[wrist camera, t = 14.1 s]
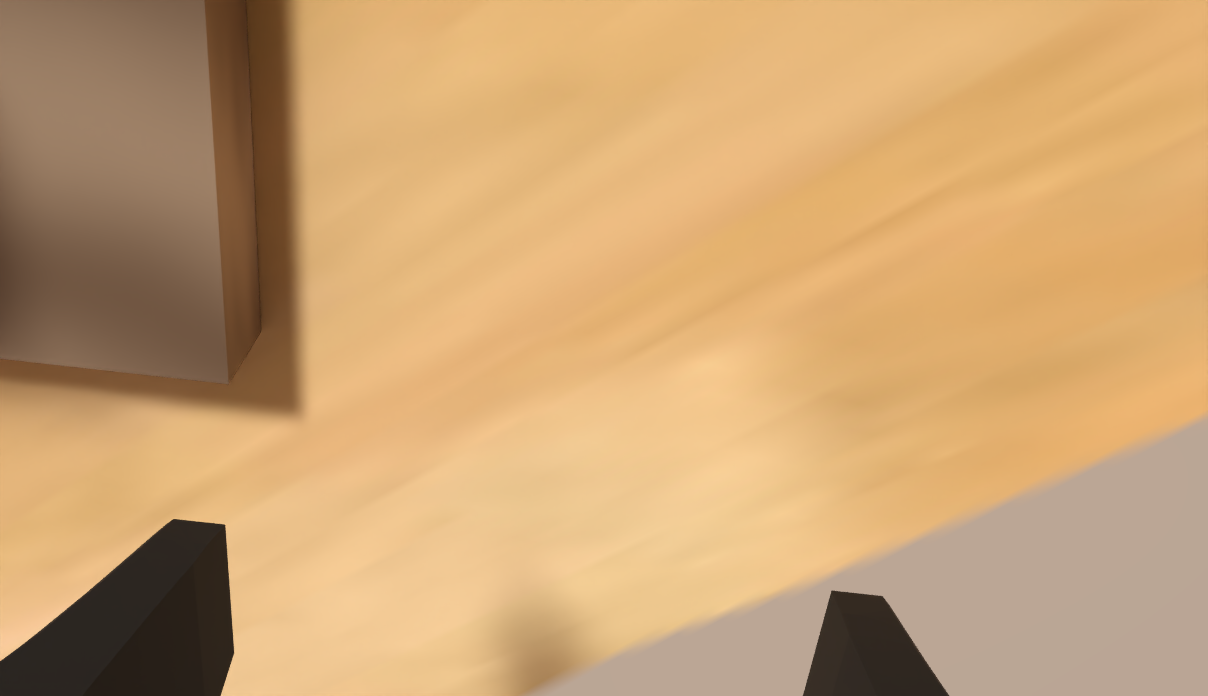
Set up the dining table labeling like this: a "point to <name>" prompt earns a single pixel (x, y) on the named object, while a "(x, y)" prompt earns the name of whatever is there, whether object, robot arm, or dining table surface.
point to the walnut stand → (127, 187)
